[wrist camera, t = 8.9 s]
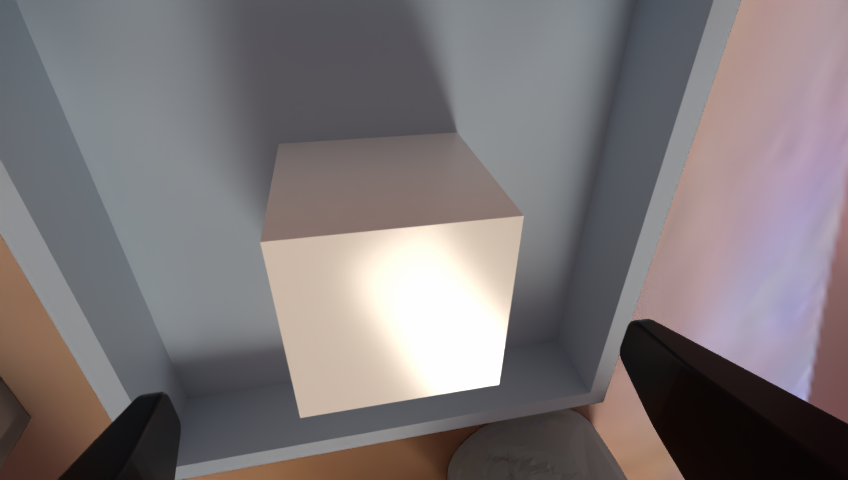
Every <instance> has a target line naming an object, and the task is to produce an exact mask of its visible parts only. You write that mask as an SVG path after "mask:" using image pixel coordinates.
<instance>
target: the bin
mask: <svg viewBox="0 0 848 480" xmlns="http://www.w3.org/2000/svg"><path fill="white" fill-rule="evenodd" d="M740 2H741V0H0V234H1V236H2V238H3V239H4V241H5V243H6V244H7V246H8V248H9V249H10V251H11V253H12V254H13V256H14V258H15V259H16V261H17V263H18V264H19V266H20V268H21V269H22V271H23V273H24V274H25V276H26V278H27V280H28V281H29V283H30V285H31V286H32V288H33V290H34V291H35V293H36V295H37V296H38V298H39V300H40V301H41V303H42V305H43V306H44V308H45V310H46V311H47V313H48V315H49V316H50V318H51V320H52V321H53V323H54V325H55V326H56V328H57V330H58V332H59V333H60V335H61V337H62V338H63V340H64V342H65V343H66V345H67V347H68V348H69V350H70V352H71V353H72V355H73V357H74V358H75V360H76V362H77V363H78V365H79V367H80V368H81V370H82V372H83V373H84V375H85V377H86V378H87V380H88V382H89V383H90V385H91V387H92V389H93V390H94V392H95V394H96V395H97V397H98V399H99V400H100V402H101V404H102V405H103V407H104V409H105V410H106V412H107V414H108V415H109V417H110V419H111V420H112V422H113V421H114V420H115V419H116V418H117V417H118V416H119V415H120V414H121V413H122V412H123V411H124V410H125V409H126V408H127V406H128V405H129V404H130V403H131V402H132V401H133V400H134V399H135V398H137V397H138V396H139V395H142V394H147V393H154V392H160V391H162V392H166V393H167V394H168V395H169V397H170V399H171V402H172V404H173V406H174V408H175V410H176V412H177V414H178V417H179V419H180V423H181V436H180V444H179V451H178V459H177V467H176V474H175V480H181V479H186V478H192V477H197V476H203V475H208V474H214V473H219V472H225V471H230V470H235V469H241V468H246V467H252V466H257V465H263V464H268V463H273V462H279V461H284V460H290V459H295V458H301V457H306V456H312V455H317V454H322V453H328V452H333V451H339V450H344V449H350V448H355V447H361V446H366V445H371V444H377V443H382V442H388V441H393V440H399V439H404V438H410V437H415V436H420V435H426V434H431V433H437V432H442V431H448V430H453V429H459V428H464V427H469V426H475V425H480V424H486V423H491V422H497V421H502V420H507V419H513V418H518V417H524V416H529V415H535V414H540V413H546V412H551V411H556V410H562V409H567V408H573V407H578V406H584V405H589V404H595V403H600V402H603V401H604V398H605V395H606V392H607V389H608V386H609V383H610V380H611V377H612V374H613V372H614V369H615V366H616V363H617V360H618V357H619V354H620V346H621V343H622V340H623V338H624V335H625V332H626V329H627V326H628V324H629V323H630V322H631V319H632V316H633V313H634V311H635V308H636V305H637V302H638V299H639V296H640V293H641V290H642V287H643V284H644V281H645V279H646V276H647V273H648V270H649V267H650V264H651V261H652V258H653V255H654V252H655V249H656V247H657V244H658V241H659V238H660V235H661V232H662V229H663V226H664V223H665V220H666V218H667V215H668V212H669V209H670V206H671V203H672V200H673V197H674V194H675V191H676V188H677V186H678V183H679V180H680V177H681V174H682V171H683V168H684V165H685V162H686V159H687V156H688V154H689V151H690V148H691V145H692V142H693V139H694V136H695V133H696V130H697V127H698V125H699V122H700V119H701V116H702V113H703V110H704V107H705V104H706V101H707V98H708V95H709V93H710V90H711V87H712V84H713V81H714V78H715V75H716V72H717V69H718V66H719V64H720V61H721V58H722V55H723V52H724V49H725V46H726V43H727V40H728V37H729V34H730V32H731V29H732V26H733V23H734V20H735V17H736V14H737V11H738V8H739V5H740ZM456 132H457V133H458V134H459V135H460V136H461V138H462V139H463V140H464V141H465V143H466V144H467V145H468V146H469V148H470V149H471V150H472V151H473V153H474V154H475V155H476V156H477V158H478V159H479V160H480V161H481V163H482V164H483V165H484V166H485V168H486V169H487V170H488V171H489V173H490V174H491V175H492V176H493V178H494V179H495V180H496V181H497V183H498V184H499V185H500V186H501V188H502V189H503V190H504V191H505V193H506V194H507V195H508V196H509V198H510V199H511V200H512V201H513V203H514V204H515V205H516V206H517V208H518V209H519V210H520V211H521V213H522V214H523V215H524V219H523V226H522V233H521V240H520V246H519V253H518V260H517V267H516V274H515V280H514V287H513V294H512V301H511V308H510V315H509V321H508V328H507V335H506V342H505V349H504V356H503V362H502V369H501V376H500V383H499V385H494V386H488V387H482V388H476V389H470V390H464V391H458V392H452V393H446V394H440V395H434V396H428V397H423V398H417V399H411V400H405V401H399V402H393V403H387V404H381V405H375V406H369V407H363V408H357V409H351V410H345V411H339V412H333V413H327V414H321V415H315V416H310V417H304V418H300V415H299V410H298V406H297V402H296V397H295V393H294V389H293V384H292V380H291V375H290V371H289V367H288V362H287V358H286V353H285V349H284V345H283V340H282V336H281V331H280V327H279V323H278V318H277V314H276V309H275V305H274V301H273V296H272V292H271V287H270V283H269V279H268V274H267V270H266V266H265V261H264V257H263V252H262V248H261V244H260V240H261V235H262V230H263V225H264V219H265V214H266V209H267V203H268V198H269V193H270V188H271V182H272V177H273V172H274V166H275V161H276V156H277V151H278V145H279V144H282V143H298V142H314V141H330V140H345V139H361V138H377V137H393V136H409V135H424V134H440V133H456Z"/></svg>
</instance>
